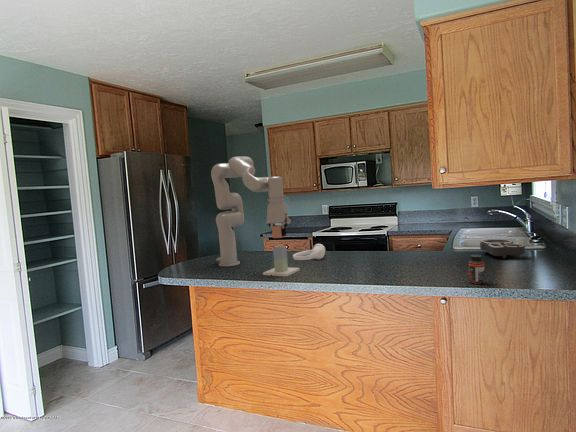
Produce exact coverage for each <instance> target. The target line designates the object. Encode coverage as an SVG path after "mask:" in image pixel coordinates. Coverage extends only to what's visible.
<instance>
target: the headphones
mask: <svg viewBox="0 0 576 432" xmlns="http://www.w3.org/2000/svg"><path fill="white" fill-rule="evenodd" d="M325 253H326V247H325V246H324V245H323V244H321V243H316V244H314V245H313V247H312V249H308V250H303V251H299V252H295V253H293V254H292V259H293V261H306V260H308V261H309V260H311V259H315V260H322V259H323V258H324V257H325Z"/></svg>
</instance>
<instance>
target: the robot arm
mask: <svg viewBox="0 0 576 432" xmlns="http://www.w3.org/2000/svg"><path fill="white" fill-rule="evenodd" d="M210 172H211V173H210V176H211V180H212V182H213V186H214V193H215V194H214V195H215V202H216V207H217V209H219V210H222V211H223V210H229V211H223V212H219V213H218V214H216V217H215V224H216V227H217V231H218V240H219V241H218V242H219V253H220V254H219V255H220V257H219V256H218V257H217V258H216V261H217V262H219V263H218V266H219V267H223V268H225V267H235V266H238V265H240V264H241V262H240V260H238V252H237V241H236V234H235V231H234V230H233V228H235V227H241V226H243V224H244V223H245V214H244V205H243V199H242V196H241V195H240V193H237V192H231V191H230V185H229V183H228V181H227V180H226V179H228V178H229V179H230V178H231V179H232V178H242V183H243V185H244V186H245V187H246V188H247V189H248V190H250V191H251V192H254V193H262V192H263V193H265V192H268V198H267V200H266V201H267V202H268V203H267V209H266V213H267V214H266V218H267V219H266V220H265V224H267V226H269V228H270V229H271V230H272V226H275V225H277V224H280V225H281V226H282V229H281V231H282V236H287V227H288V226H289V224H291V222H292V220H291V219H290V218H289V216H288V210H287V205H286V202H285V201H284V187H283V186H284V184H283V178H282V176H279V175H277V176H264V177H262V176H261V177H256V176H255V175H256V168H255V165H254V161H253V159H252V158H251V157H249V156H245V155H243V156H237V155H236V156H233V157H231V158H230V159H229V160H228V162H224V163H222V162H221V163H216V164H215V165H213V166H212V168H211V171H210Z"/></svg>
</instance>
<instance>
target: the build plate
mask: <svg viewBox="0 0 576 432" xmlns="http://www.w3.org/2000/svg"><path fill="white" fill-rule="evenodd" d="M273 262H274V263H273V264H274V265H273V266H274V267H273V268H271V269H269V270H266V271H264V272H262V275H263V276H271V275H272V277H273V276H276V277H289V276H291V275H292V274H295V273H297V272H299V271H301V270H300V267H289V266H288V257H287V258H286V259H283V260H274V259H273Z"/></svg>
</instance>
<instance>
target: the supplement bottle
mask: <svg viewBox="0 0 576 432" xmlns="http://www.w3.org/2000/svg"><path fill="white" fill-rule="evenodd" d="M482 258H483V257H482V255H481V254H471V255H470V260H468V281H469V283H470V284H472V283H474V284H473V285H482V284H481V283H483V284H485V281H486V275H485V274H486V273H485V272H486V271H485V261H484V260H483V259H482Z"/></svg>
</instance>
